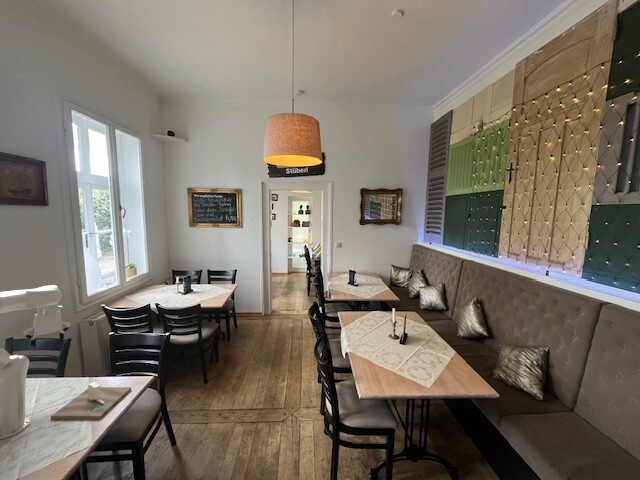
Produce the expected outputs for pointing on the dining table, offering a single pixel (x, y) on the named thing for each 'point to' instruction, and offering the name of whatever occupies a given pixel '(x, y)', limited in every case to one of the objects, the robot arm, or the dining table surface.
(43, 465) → the dining table surface
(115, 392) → the panel
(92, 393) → the peg knob
